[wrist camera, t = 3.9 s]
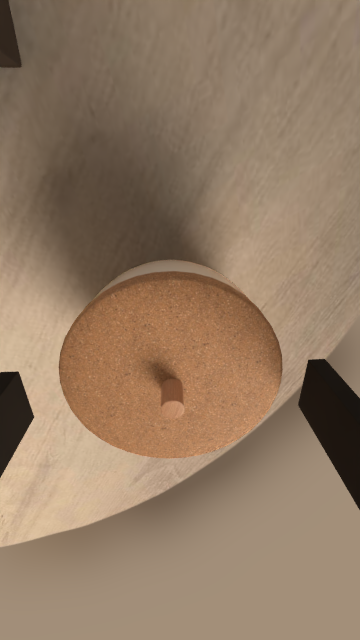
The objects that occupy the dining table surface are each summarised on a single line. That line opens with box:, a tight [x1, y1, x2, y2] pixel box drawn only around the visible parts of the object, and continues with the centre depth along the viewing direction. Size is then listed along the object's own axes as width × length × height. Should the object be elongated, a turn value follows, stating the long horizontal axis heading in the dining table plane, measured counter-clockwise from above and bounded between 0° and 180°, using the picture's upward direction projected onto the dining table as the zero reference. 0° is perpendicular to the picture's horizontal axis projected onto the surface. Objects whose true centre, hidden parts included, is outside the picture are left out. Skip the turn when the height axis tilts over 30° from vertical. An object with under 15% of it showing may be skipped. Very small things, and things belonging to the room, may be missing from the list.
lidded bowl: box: [59, 260, 282, 458], centre depth 16 cm, size 11×11×9 cm
